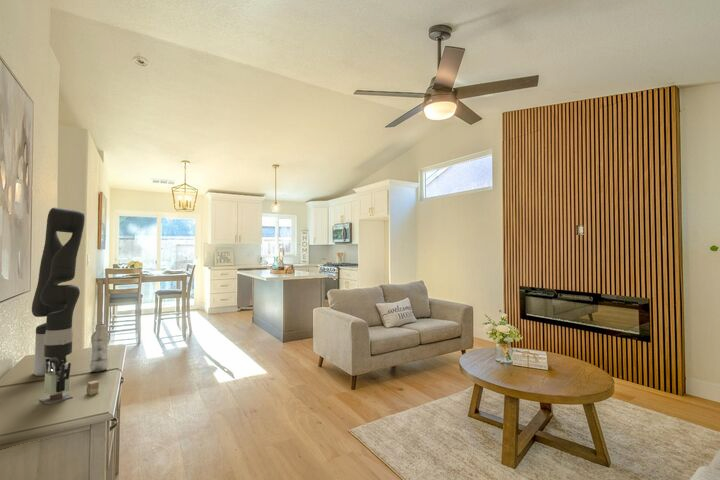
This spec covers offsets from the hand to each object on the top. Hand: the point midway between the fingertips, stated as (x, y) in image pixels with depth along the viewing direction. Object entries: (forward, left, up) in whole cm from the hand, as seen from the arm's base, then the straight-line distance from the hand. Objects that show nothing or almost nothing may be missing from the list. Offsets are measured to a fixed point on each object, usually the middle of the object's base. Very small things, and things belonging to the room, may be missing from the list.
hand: (56, 389), depth 123 cm
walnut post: (0, 0, -3) cm, 3 cm away
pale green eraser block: (0, 0, -1) cm, 1 cm away
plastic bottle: (-20, +22, -4) cm, 30 cm away
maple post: (+5, +9, -3) cm, 11 cm away
